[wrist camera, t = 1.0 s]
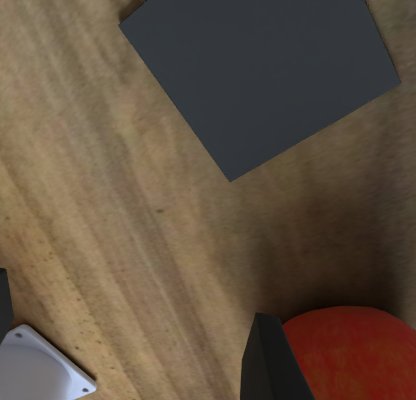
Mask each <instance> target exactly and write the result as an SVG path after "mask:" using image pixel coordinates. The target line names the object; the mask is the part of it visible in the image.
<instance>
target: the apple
mask: <svg viewBox="0 0 416 400" xmlns="http://www.w3.org/2000/svg"><path fill="white" fill-rule="evenodd" d="M282 326H283V329H284V331H285V334H286V336H287V339H288V341H289V344H290V346H291V348H292V351H293V353H294V355H295V357H296V360H297V362H298V364H299V366H300V368H301V370H302V373H303V375H304V377H305V379H306V381H307V383H308V385H309V387H310V389H311V391H312V393H313V395H314V397H315V399H316V400H416V332H415V331H414V330H413V329H412V328H411V327H410V326H409V325H408V324H407V323H405V322H403V321H401V320H400V319H398V318H396V317H394V316H392V315H391V314H389V313H387V312H385V311H382V310H379V309H376V308H372V307H361V306H336V307H330V308H324V309H317V310H311V311H309V312H306V313H304V314H301V315H298V316H296V317H293V318H291V319H290V320H289V321H287V322H286V323H284V324H283V325H282Z"/></svg>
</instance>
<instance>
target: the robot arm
mask: <svg viewBox="0 0 416 400" xmlns="http://www.w3.org/2000/svg"><path fill="white" fill-rule="evenodd" d="M13 322H14V314H13V308H12V302H11V296H10V290H9V284H8V278H7V272H6V269H4V268H0V400H74V399H77V398H79V397H82V396H84V395H86V394H89V393H91V392H94V391H95V390H96V388H97V386H98V385H97V383H96V382H95V381H94V380H93V379H91V378H90V377H89V376H88V375H87V374H86V373H84V372H83V371H82V370H81V369H80V368H78V367H77V366H76V365H75V364H74V363H72V362H71V361H70V360H69V359H68V358H67V357H65V356H64V355H63V354H62V353H61V352H59V351H58V350H57V349H56V348H55V347H54V346H52V345H51V344H50V343H49V342H48V341H46V340H45V339H44V338H43V337H42V336H40V335H39V334H38V333H37V332H36V331H35V330H33V329H32V328H31V327H30V326H28V325H20V326H18V327H16V328H14V329H13V330H11V331H9V329H10V327H11V325H12V323H13ZM8 331H9V332H8ZM240 400H316V399H315V397H314V395H313V393H312V391H311V389H310V387H309V385H308V383H307V381H306V379H305V377H304V375H303V373H302V370H301V368H300V366H299V364H298V362H297V360H296V357H295V355H294V353H293V351H292V348H291V346H290V344H289V341H288V339H287V336H286V334H285V331H284V329H283V326H282V324H281V321H280V319H279V318H278V316H275V315H269V314H263V313H257V312H256V314H255V317H254V321H253V324H252V327H251V331H250V334H249V338H248V341H247V345H246V348H245V351H244V355H243V358H242V370H241V388H240Z"/></svg>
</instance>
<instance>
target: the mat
mask: <svg viewBox="0 0 416 400" xmlns="http://www.w3.org/2000/svg"><path fill="white" fill-rule="evenodd" d="M118 26H119V28H120V29H121V30H122V32H123V33H124V35H125V36H126V37H127V39H128V40H129V42H130V43H131V44H132V46H133V47H134V49H135V50H136V51H137V53H138V54H139V56H140V57H141V58H142V60H143V61H144V63H145V64H146V65H147V67H148V68H149V70H150V71H151V72H152V74H153V75H154V77H155V78H156V79H157V81H158V82H159V84H160V85H161V86H162V88H163V89H164V91H165V92H166V93H167V95H168V96H169V98H170V99H171V100H172V102H173V103H174V105H175V106H176V107H177V109H178V110H179V112H180V113H181V114H182V116H183V117H184V119H185V120H186V121H187V123H188V124H189V126H190V127H191V128H192V130H193V131H194V133H195V134H196V135H197V137H198V138H199V140H200V141H201V142H202V144H203V145H204V147H205V148H206V149H207V151H208V152H209V154H210V155H211V156H212V158H213V159H214V161H215V162H216V163H217V165H218V166H219V168H220V169H221V170H222V172H223V173H224V175H225V176H226V177H227V179H228V180H229V182H231V181H233V180H235V179H237V178H238V177H240V176H242V175H244V174H245V173H247V172H249V171H250V170H252V169H254V168H256V167H257V166H259V165H261V164H263V163H264V162H266V161H268V160H270V159H271V158H273V157H275V156H276V155H278V154H280V153H282V152H283V151H285V150H287V149H289V148H290V147H292V146H294V145H295V144H297V143H299V142H301V141H302V140H304V139H306V138H308V137H309V136H311V135H313V134H315V133H316V132H318V131H320V130H321V129H323V128H325V127H327V126H328V125H330V124H332V123H334V122H335V121H337V120H339V119H341V118H342V117H344V116H346V115H347V114H349V113H351V112H353V111H354V110H356V109H358V108H360V107H361V106H363V105H365V104H366V103H368V102H370V101H372V100H373V99H375V98H377V97H379V96H380V95H382V94H384V93H386V92H387V91H389V90H391V89H392V88H394V87H396V86H398V85H399V84H401V81H400V79H399V77H398V74H397V72H396V70H395V68H394V65H393V63H392V61H391V59H390V56H389V54H388V52H387V50H386V47H385V45H384V43H383V40H382V38H381V36H380V34H379V31H378V29H377V27H376V25H375V22H374V20H373V18H372V16H371V13H370V11H369V9H368V6H367V4H366V2H365V0H146V1H145V2H144V3H143V4H142V5H141V6H139V7H138V8H137V9H136V10H135V11H134V12H132V13H131V14H130V15H129V16H128V17H127V18H125V19H124V20H123V21H122V22H121V23H120V24H119V25H118Z"/></svg>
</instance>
